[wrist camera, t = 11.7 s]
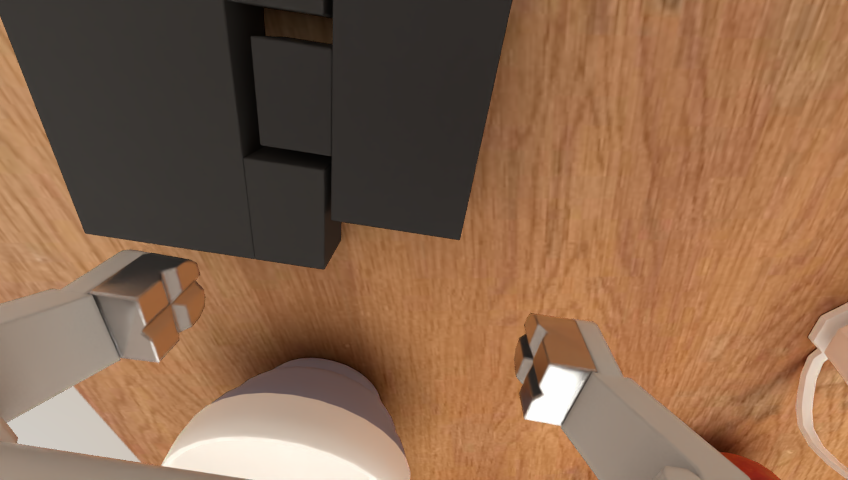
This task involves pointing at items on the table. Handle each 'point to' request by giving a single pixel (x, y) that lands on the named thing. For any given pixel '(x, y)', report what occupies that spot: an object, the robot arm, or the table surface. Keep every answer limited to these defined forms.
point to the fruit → (750, 467)
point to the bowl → (295, 428)
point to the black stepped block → (388, 106)
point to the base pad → (171, 125)
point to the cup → (835, 340)
